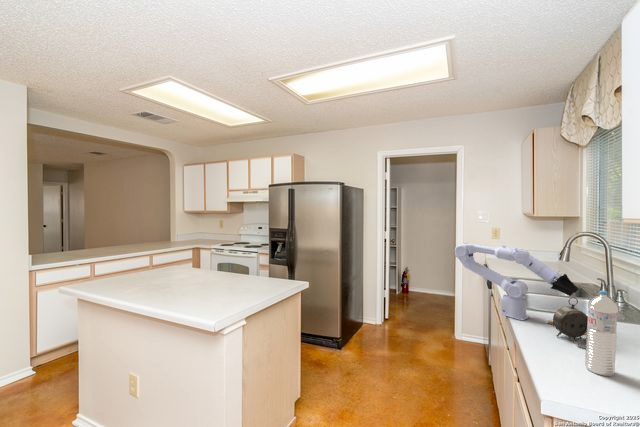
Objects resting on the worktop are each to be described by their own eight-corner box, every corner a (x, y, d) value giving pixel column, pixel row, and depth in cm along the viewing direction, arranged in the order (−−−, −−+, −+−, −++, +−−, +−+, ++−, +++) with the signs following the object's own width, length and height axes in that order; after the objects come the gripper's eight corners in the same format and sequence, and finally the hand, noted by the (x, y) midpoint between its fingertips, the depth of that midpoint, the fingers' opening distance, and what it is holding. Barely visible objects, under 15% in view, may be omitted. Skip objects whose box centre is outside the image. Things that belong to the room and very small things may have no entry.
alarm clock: (581, 336, 121) (583, 295, 120) (591, 342, 115) (594, 300, 115) (551, 335, 122) (553, 294, 121) (560, 341, 116) (562, 298, 116)
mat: (577, 347, 111) (577, 346, 111) (587, 337, 120) (587, 336, 120) (607, 356, 105) (607, 355, 105) (615, 345, 114) (615, 344, 114)
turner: (547, 324, 133) (547, 321, 133) (550, 321, 135) (550, 319, 135) (589, 335, 122) (589, 333, 122) (592, 332, 124) (592, 330, 124)
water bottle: (584, 362, 100) (588, 287, 99) (613, 370, 96) (617, 291, 95) (585, 371, 95) (589, 291, 94) (615, 380, 91) (620, 296, 90)
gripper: (551, 259, 128) (586, 282, 121) (545, 267, 140) (576, 289, 133) (539, 271, 128) (573, 295, 121) (534, 278, 140) (565, 300, 133)
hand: (574, 292), depth 127 cm, fingers open, 7 cm apart
